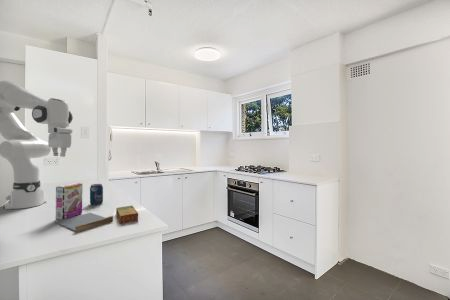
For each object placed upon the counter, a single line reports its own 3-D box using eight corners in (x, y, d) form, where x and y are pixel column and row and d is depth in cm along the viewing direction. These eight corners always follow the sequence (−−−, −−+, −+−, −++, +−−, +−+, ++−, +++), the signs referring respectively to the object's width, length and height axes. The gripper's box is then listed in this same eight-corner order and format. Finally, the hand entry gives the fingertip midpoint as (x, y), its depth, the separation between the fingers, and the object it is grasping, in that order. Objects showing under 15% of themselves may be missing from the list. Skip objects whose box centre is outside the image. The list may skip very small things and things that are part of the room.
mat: (54, 222, 103) (54, 221, 103) (90, 213, 117) (90, 212, 117) (75, 231, 93) (75, 230, 93) (111, 220, 107) (111, 219, 107)
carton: (119, 224, 103) (119, 215, 103) (115, 215, 116) (115, 207, 116) (138, 221, 107) (138, 212, 107) (132, 212, 121) (132, 204, 121)
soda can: (97, 205, 131) (97, 186, 131) (87, 205, 133) (87, 185, 132) (105, 202, 138) (105, 183, 138) (96, 202, 139) (96, 183, 139)
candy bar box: (63, 220, 106) (63, 187, 105) (55, 219, 107) (54, 186, 106) (83, 213, 117) (82, 183, 116) (75, 212, 118) (75, 182, 117)
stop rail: (75, 231, 93) (75, 226, 93) (111, 220, 107) (111, 215, 107) (76, 232, 93) (76, 226, 92) (113, 221, 106) (113, 216, 106)
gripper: (44, 130, 118) (44, 155, 118) (59, 128, 106) (59, 157, 107) (58, 130, 123) (58, 155, 124) (73, 129, 112) (74, 156, 112)
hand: (59, 156), depth 115 cm, fingers open, 8 cm apart
